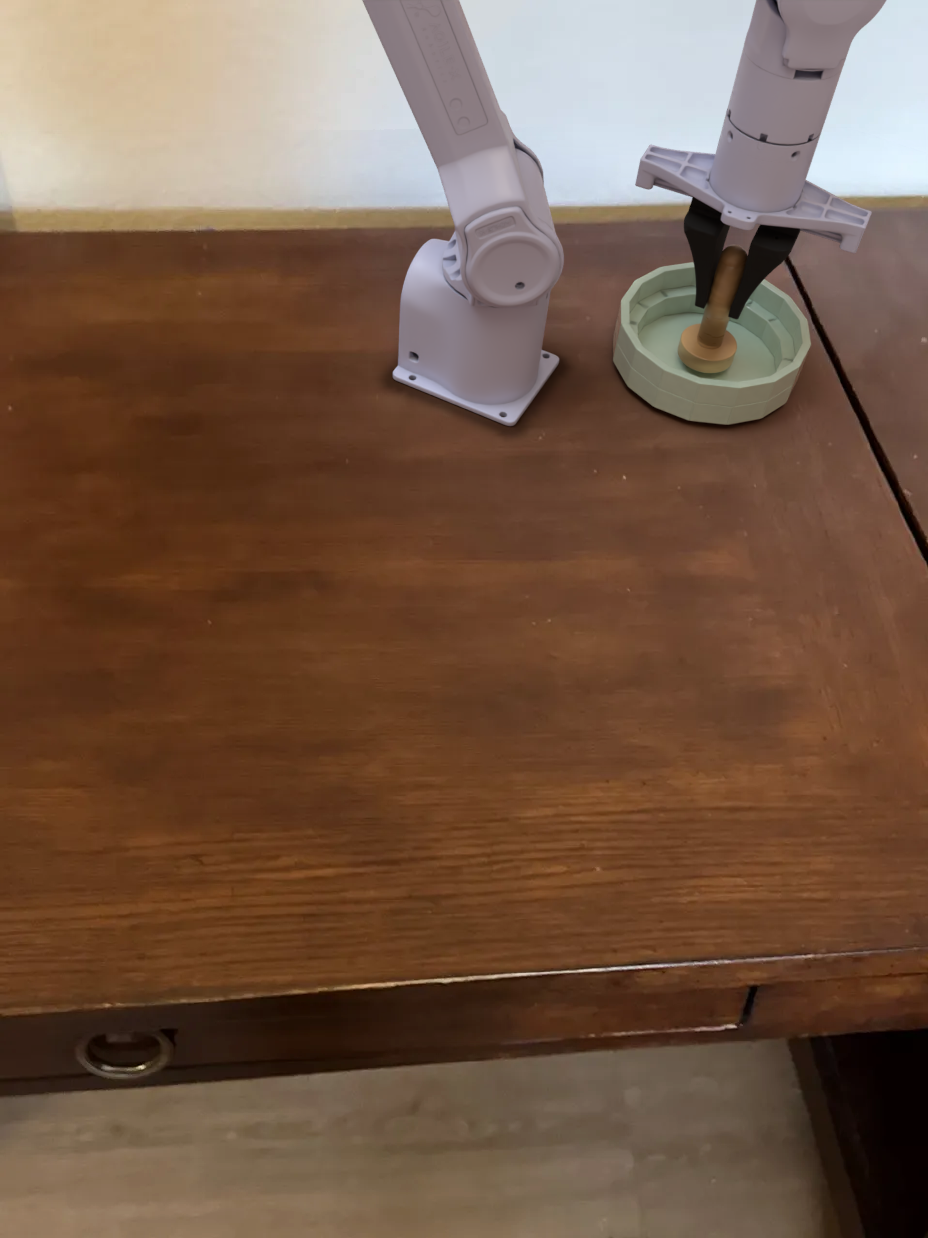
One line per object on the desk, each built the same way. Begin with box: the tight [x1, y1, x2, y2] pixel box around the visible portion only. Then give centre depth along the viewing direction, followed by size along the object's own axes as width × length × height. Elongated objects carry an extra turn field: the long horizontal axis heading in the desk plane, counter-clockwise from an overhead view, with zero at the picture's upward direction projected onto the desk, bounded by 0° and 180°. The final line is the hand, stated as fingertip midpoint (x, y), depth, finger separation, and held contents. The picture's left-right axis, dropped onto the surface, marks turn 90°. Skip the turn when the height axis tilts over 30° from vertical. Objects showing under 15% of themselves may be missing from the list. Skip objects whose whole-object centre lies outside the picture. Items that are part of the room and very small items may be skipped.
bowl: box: [612, 261, 812, 426], centre depth 86 cm, size 13×13×4 cm
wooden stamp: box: [678, 244, 748, 373], centre depth 82 cm, size 4×4×9 cm
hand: (719, 304), depth 83 cm, fingers closed on wooden stamp, 2 cm apart
